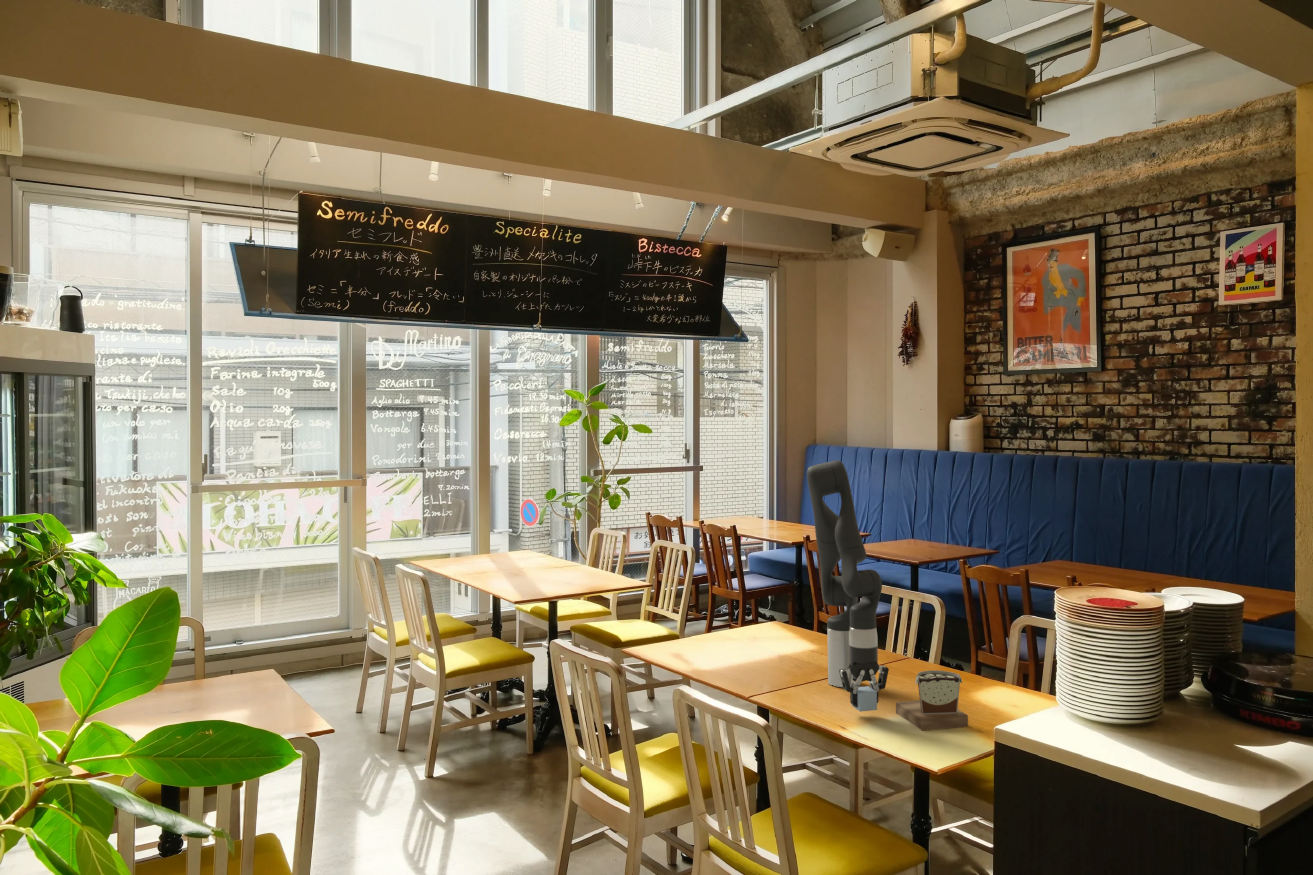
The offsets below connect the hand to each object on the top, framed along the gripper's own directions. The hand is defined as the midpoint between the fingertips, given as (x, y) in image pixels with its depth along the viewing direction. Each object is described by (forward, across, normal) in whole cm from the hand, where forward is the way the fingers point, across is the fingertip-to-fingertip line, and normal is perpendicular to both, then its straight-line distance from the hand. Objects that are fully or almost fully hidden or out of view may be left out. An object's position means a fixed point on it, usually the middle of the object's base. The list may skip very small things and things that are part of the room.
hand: (864, 705), depth 242 cm
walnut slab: (+3, +16, -6) cm, 18 cm away
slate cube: (+1, 0, 0) cm, 1 cm away
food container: (+1, +17, -8) cm, 19 cm away
